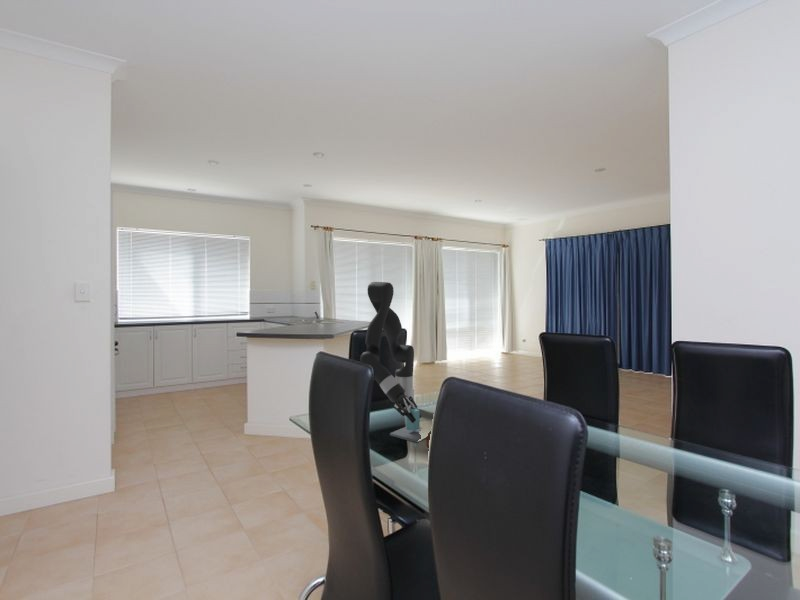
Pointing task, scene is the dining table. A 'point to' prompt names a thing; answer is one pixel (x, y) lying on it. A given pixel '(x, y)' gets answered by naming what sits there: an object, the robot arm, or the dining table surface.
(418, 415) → the block
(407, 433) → the mat
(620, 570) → the dining table surface
